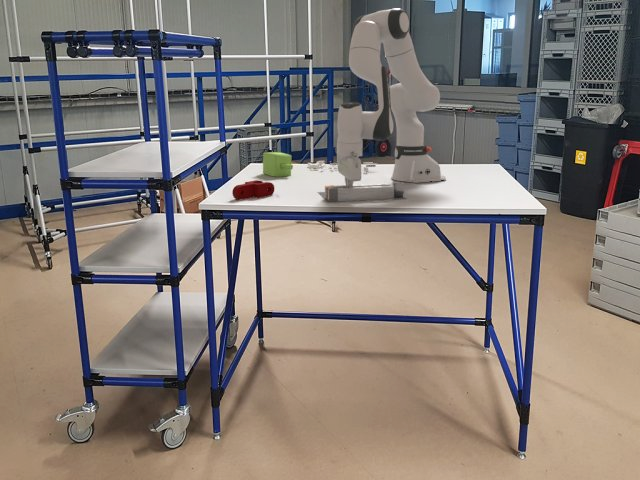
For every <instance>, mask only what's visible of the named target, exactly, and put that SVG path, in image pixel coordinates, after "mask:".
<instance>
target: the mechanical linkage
mask: <svg viewBox="0 0 640 480" xmlns="http://www.w3.org/2000/svg"><path fill="white" fill-rule="evenodd" d="M231 192H232V196H233V198H234V199H236V200H239V199H242V200H246V199H245V198H247V199H251V198H250V197H252V198H256V197H257V198H258V199H259V198H260V197H261V198H264V197H265V196H266V197H271V196H273V194H274V192H275V184H274V183H273V182H270V181H265V182H263V181H262V180H259V179H257V180H251V181H246V182H245V181H244V183H242V184H237V185H235V186H234V187H233V189H232V191H231ZM261 198H260V199H261Z"/></svg>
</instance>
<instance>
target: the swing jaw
mask: <svg viewBox="0 0 640 480" xmlns="http://www.w3.org/2000/svg"><path fill="white" fill-rule="evenodd" d="M370 186H391V184H390V183H371V184H369V183H368V184H367V183H366V184H353V185H346V184H343V185H324V192H325V198H326V199H327V196H328V187H337V188H346V187H370Z"/></svg>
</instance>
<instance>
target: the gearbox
mask: <svg viewBox="0 0 640 480" xmlns="http://www.w3.org/2000/svg"><path fill="white" fill-rule="evenodd" d="M262 154H263V155H262V157H263V159H262V174H265V175H267V176H271V177H277V178H278V177H280V178H281V177H287V176H292V170H293V167H294V165H293V164H292V155H291V154H288V153H284V152H278V151H276V152H275V151H273V152H263V153H262Z"/></svg>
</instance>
